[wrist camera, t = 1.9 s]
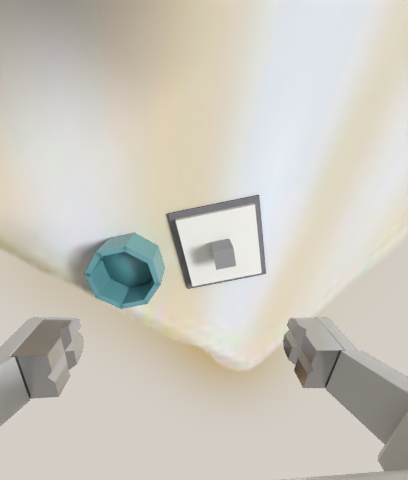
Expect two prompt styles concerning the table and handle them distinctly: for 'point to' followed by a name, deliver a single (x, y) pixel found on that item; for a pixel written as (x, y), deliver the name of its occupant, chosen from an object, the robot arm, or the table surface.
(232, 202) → the mat
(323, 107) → the table surface
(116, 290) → the bowl
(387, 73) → the table surface
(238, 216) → the cover sheet
